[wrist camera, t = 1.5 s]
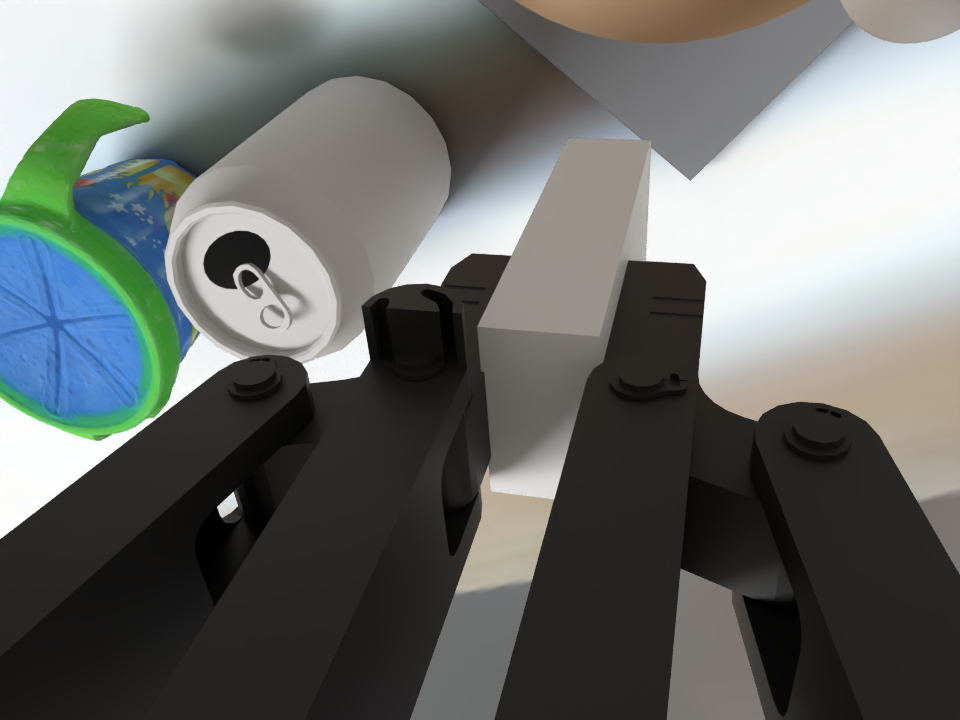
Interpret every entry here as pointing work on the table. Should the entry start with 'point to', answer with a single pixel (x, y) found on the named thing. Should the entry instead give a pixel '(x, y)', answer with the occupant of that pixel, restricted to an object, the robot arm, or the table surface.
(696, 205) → the table surface
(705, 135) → the dial base
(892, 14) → the dial
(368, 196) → the can
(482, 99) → the table surface
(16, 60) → the table surface
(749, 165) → the table surface
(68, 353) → the snack cup
